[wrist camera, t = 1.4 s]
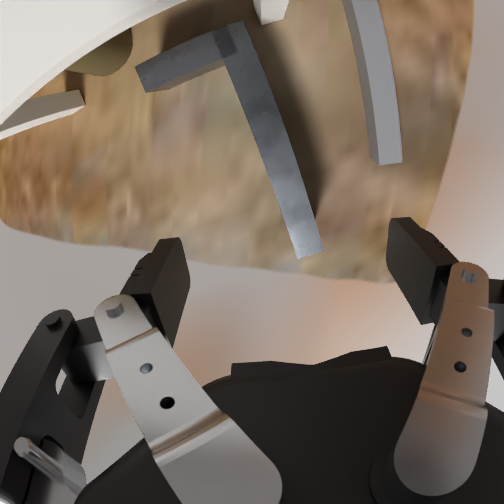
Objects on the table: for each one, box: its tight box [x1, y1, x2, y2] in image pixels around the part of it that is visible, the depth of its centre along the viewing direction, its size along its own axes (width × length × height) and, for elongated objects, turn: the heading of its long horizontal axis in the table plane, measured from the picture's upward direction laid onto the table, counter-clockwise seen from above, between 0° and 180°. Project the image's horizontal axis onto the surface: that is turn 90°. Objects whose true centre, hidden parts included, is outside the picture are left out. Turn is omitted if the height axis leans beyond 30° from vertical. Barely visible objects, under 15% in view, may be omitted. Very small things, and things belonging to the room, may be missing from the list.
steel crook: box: [135, 20, 324, 259], centre depth 25 cm, size 9×20×6 cm, turn 20°
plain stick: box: [342, 0, 402, 165], centre depth 22 cm, size 2×20×3 cm, turn 12°
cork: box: [63, 29, 133, 76], centre depth 18 cm, size 6×6×11 cm
